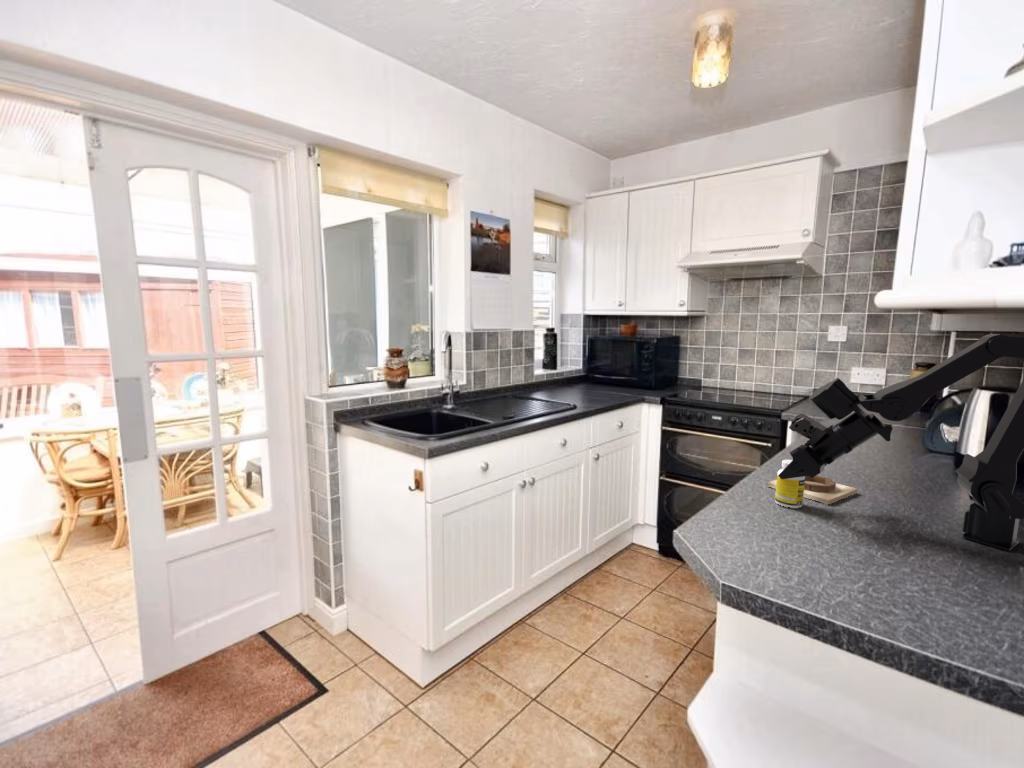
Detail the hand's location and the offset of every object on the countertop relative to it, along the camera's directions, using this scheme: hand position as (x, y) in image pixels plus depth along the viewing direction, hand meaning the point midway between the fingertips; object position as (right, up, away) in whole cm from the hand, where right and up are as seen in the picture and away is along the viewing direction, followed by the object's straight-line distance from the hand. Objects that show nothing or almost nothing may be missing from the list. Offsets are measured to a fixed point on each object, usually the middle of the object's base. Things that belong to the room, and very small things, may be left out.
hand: (784, 474), depth 109 cm
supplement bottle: (+1, -7, 0) cm, 7 cm away
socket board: (+12, -6, +9) cm, 16 cm away
